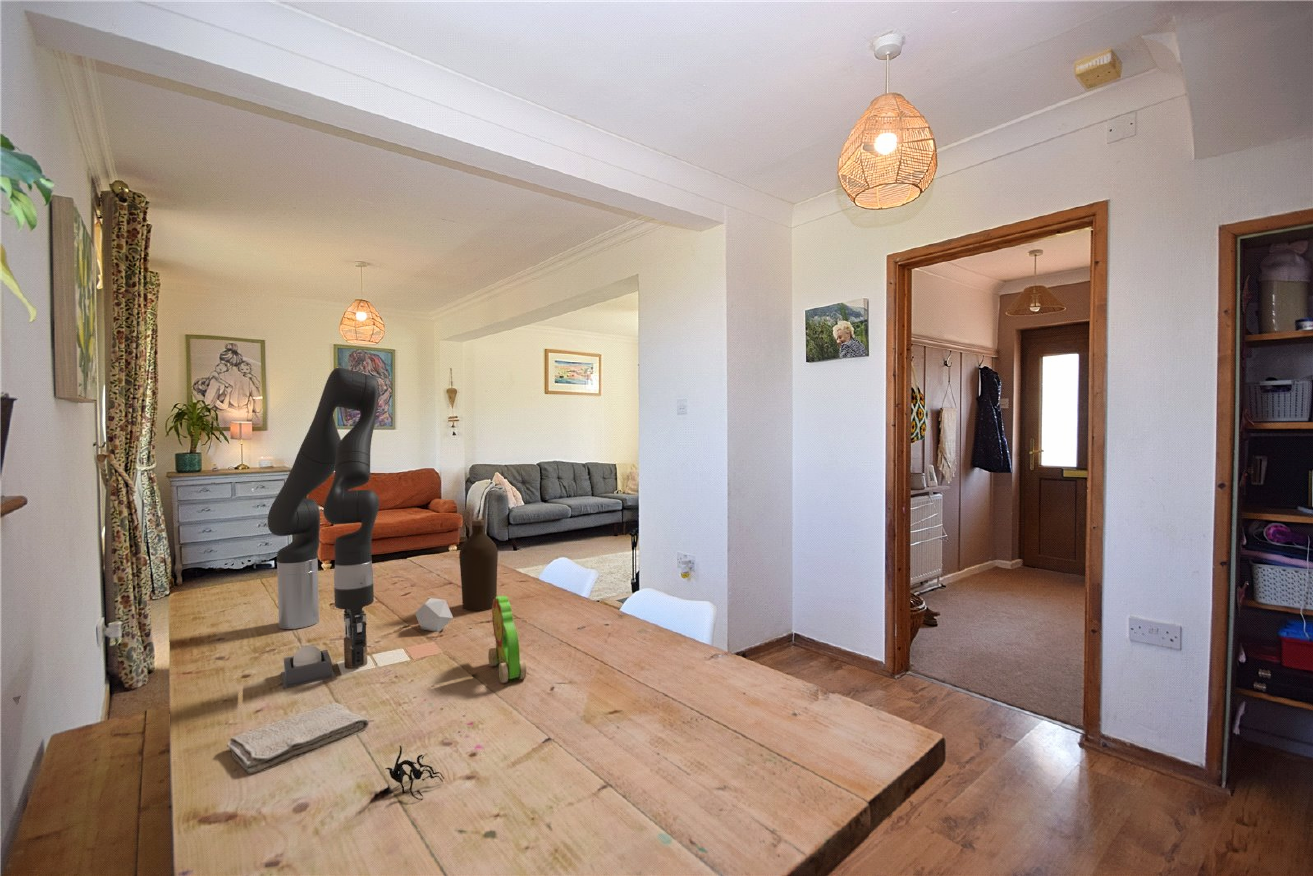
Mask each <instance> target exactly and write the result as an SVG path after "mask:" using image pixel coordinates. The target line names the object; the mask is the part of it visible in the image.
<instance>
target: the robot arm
mask: <svg viewBox="0 0 1313 876" xmlns="http://www.w3.org/2000/svg"><path fill="white" fill-rule="evenodd" d="M322 391H323V392H322V394H321V395H320V396H321V397H320V400H319V402H318V405H317V408H316V411H315V413H314V417H313V420H312V422H311V424H310V426H309V428H308V431H307V432H306V435H305V436H304V439H303V441H302V442H301V443H302V444H301V445H300V448H299V449H298V452H297V454H296V456H295V457H296V458H295V460H294V463H293V465H292V467H291V469H290V471H289V474H288V475H287V477H286V480H285V482H284V484H283V485H282V486H281V489H280V490H279V492H278V493H277V496H276V498H274V500H273V503H272V504H271V506H270V508H269V511H268V515H267V527H268V530H269V532H270V533H272V535H274V536H278V537H285V536H288V537H289V536H294V535H296V536H295V538H294V539H293V540H292V541H291V542H290V543H288V544H287V545H285V546H283V547H282V548H280V549H279V550H278V551H277V552H276V565H277V566H276V567H277V600H278V602H277V604H278V628H279V629H282V630H295V629H296V630H297V629H301V628H307V627H310V626H313V625H315V624H317V623H319V622H320V604H319V603H320V602H319V601H320V600H319V599H320V598H319V567H318V565H319V564H318V560H319V559H318V551H319V547H320V527H321V515H320V514H321V513H320V507H319V505H318V503H317V502H316V500H315V499H313V498H311V497H309V498H308V497H307V496H309V494H311V493H312V492H313V491H314V490H316V489H318V488H319V487H320V486H321V485H322V484H323V483H325V482H326V481H328V480H329V478H331V476H332V475H333V474H334V477H333V479H332V483H331V487H330V488H329V491H328V493H327V495H326V498H325V500H324V504H323V508H322V509H323V511H322V512H323V515H324V518H325V520H326V521H327V522H328V523H329V524H332V525H346V524H358V523H360V524H361V526H360V527H359V529H357V530H356V531H353V532H350V533H345V534H342V535H340V536H338V537H336V539H335V540H334V572H333V584H334V587H333V589H334V592H333V593H334V607H335V608H336V609H339V610H343V621H344V622H343V623H344V631H345V633H344V634H345V637H347V636H348V638H349V639H350V641H351V646H350V648H351V655H352V666H353V667H357V666H361V665H363V664H364V654H363V648H364V647H366V635H367V613H365V610H364V609H363V608H365V607H368V606H370V605H372V604H373V603H374V600H375V596H374V590H375V589H374V569H373V563H372V562H373V561H372V537H373V530H374V526H375V523H376V519H377V516H378V512H379V509H380V499H379V496H378V494H377V493H376V492H375V491H373V490H372V489H358V490H356V489H355V488H359V487H361V486H364V485H366V484H367V483H369V480H370V478H371V450H372V449H371V446H372V439H373V434H374V429H375V423H376V417H377V411H378V405H379V399H380V397H379V396H380V384H379V381H378V379H377V377H375V376H374V375H370V374H367V373H364V372H360V371H355V370H352V369H349V368H345V367H336V368H334V369H333V370H332V371H331V372H330V373H329V376H328V377H327V380H326V383H325V385H324V388H323V390H322ZM339 407H340V408H343V409H347V410H352V411H356V412H359V418H358V420H357V422H356V423H355V424H354V425H353V427H352V428H351V429H350V430H349V431H348V432H347V433H346V434H345V435H344V436H343V437H342V438H341V435H340V434H339V432H338V428H337V425H336V422H335V416H334V415H335V410H336V408H339ZM352 489H355V490H352ZM306 497H307V498H306ZM357 639H361V642H357V643H355V641H356V640H357Z"/></svg>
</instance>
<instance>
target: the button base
mask: <svg viewBox="0 0 1313 876" xmlns="http://www.w3.org/2000/svg"><path fill="white" fill-rule="evenodd" d="M320 652H321V662H318V663H313V664H309V665H304V666H299V667H294V668H293V658H294V655H292V656H288V657H284V658H283V671H281V673H280V675H281V681H282V688H283V689H288V688H292V687H297V686H302V685H306V684H311V683H315V682H320V681H323V680H329V679H334V678H336V675H335V672H334V670H333V667H332V665H333V664H332V659H331V655H330V653H329V651H328V649H324V650H320Z"/></svg>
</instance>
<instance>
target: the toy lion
mask: <svg viewBox="0 0 1313 876" xmlns="http://www.w3.org/2000/svg"><path fill="white" fill-rule="evenodd" d="M491 613H492V614H491V615H492V616H491V620H492V621H491V622H492V627H493V636H494V638H495V647H492V648H489V649H488V654H487V655H488V656H487V657H488V664H489V667H496V666H497V664H498V677H499V683H501V684H505V683H508V681H509V680H512V679H516V678H518V679H519V680H524V679H526V677H527V664H526V662H525V660H524V659H521V657H520V642H519V636H518V631H517V628H516V625H515V623H514V615H513V612H512V605H511V603H510V601H509V597H508V596H506V595H499V596H497V597H495V599H494V600H493V606H492V608H491Z"/></svg>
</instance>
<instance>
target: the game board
mask: <svg viewBox="0 0 1313 876" xmlns="http://www.w3.org/2000/svg"><path fill="white" fill-rule="evenodd" d="M405 650H406V651H407V652H405ZM405 650H404V649H403V648H397V649H393V650H389V651H382V652H378V653H374V654H371V655H372V657H373V659H374V661H375V663H376V665H377V667H378V668H380V667H385V666H390V665H394V664H400V663H403V662H408V661H411V658H412V659H413V660H417V659H422V658H426V657H430V656H435V655H439V654H443V653H444V651H442V649H441V648H440V647H439V646H438V645H437V644H436V643H435V641H432V642H427V643H420V644H416V645H412V646H407V647H405ZM407 653H408V654H409V655H410V657H409V656H408V654H407ZM371 655H368V654H367V664H366V665H365V666H363V667H360V668H356V669H347V668H345V664H344V660H340V661H337V662H336V663H337V666H338V668H339V671H340V674H341V676H346V675H348V674H353V673H359V672H362V671H367V670H371V669H376V666H375V664H374V662H373V660H372V658H371Z"/></svg>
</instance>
